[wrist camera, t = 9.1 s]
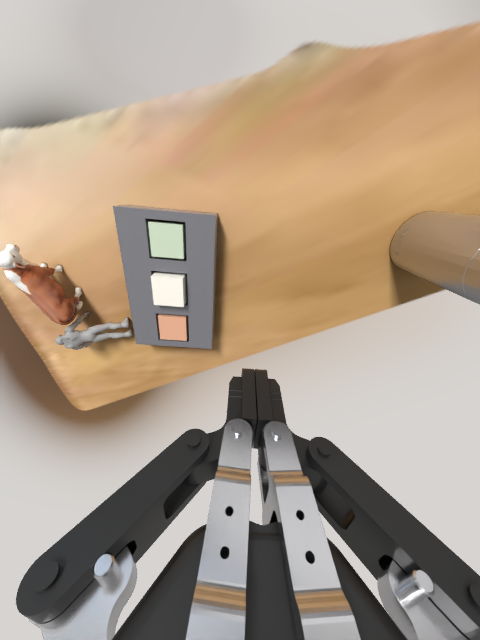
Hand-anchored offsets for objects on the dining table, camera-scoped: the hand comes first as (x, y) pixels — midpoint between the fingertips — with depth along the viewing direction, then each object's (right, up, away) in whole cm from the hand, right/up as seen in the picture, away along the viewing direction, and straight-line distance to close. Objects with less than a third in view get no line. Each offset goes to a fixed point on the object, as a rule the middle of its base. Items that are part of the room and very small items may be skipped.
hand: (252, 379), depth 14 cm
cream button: (-12, +9, +24) cm, 29 cm away
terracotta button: (-13, +4, +29) cm, 32 cm away
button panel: (-12, +11, +26) cm, 31 cm away
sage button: (-11, +17, +22) cm, 30 cm away
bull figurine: (-32, +11, +26) cm, 43 cm away
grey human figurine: (-27, +3, +31) cm, 42 cm away
